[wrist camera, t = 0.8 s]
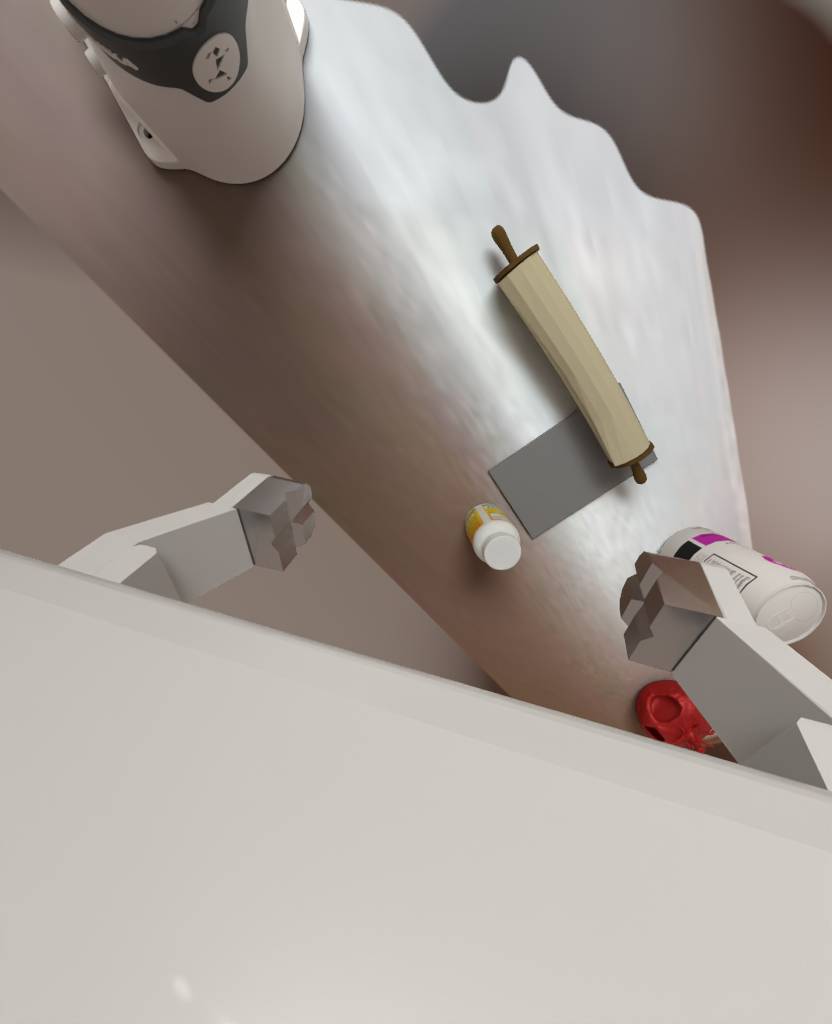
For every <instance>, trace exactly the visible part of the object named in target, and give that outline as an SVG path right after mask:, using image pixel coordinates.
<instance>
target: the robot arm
mask: <svg viewBox="0 0 832 1024" xmlns="http://www.w3.org/2000/svg"><path fill="white" fill-rule="evenodd" d="M50 3H51V5H52V7H53V9H54V11H55V12H56V14H57V15H58V17H59V18H60V20H61V21H62V23H63V24H64V26H65V27H66V28H67V30H68V31H69V32H70V33H71V35H72V36H73V37H74V38H75V39H76V40H77V41H78V42H80V41H81V42H83V41H85V43H86V45H87V47H88V49H87V50H86V51H85V55H86V57H87V59H88V60H89V62H90V63H91V65H92V66H93V68H94V69H95V70H96V71H97V73H98V74H99V75H100V76H103V77H104V78H105V80H106V82H107V84H108V86H109V88H110V89H111V91H112V93H113V95H114V97H115V99H116V101H117V102H118V104H119V106H120V108H121V110H122V112H123V113H124V115H125V117H126V119H127V121H128V123H129V125H130V126H131V128H132V130H133V132H134V134H135V136H136V137H137V139H138V141H139V143H140V145H141V147H142V149H143V150H144V152H145V154H146V155H147V156H148V158H149V159H150V160H151V161H152V162H153V163H154V164H155V165H156V166H158V167H160V168H164V169H189V170H192V171H195V172H197V173H199V174H202V175H204V176H206V177H208V178H210V179H213V180H216V181H219V182H224V183H230V184H244V183H250V182H254V181H257V180H260V179H262V178H264V177H266V176H268V175H269V174H271V173H272V172H274V171H275V170H276V169H277V168H278V167H279V166H280V165H281V164H282V163H283V162H284V161H285V160H286V158H287V157H288V156H289V154H290V152H291V151H292V149H293V147H294V145H295V143H296V141H297V138H298V136H299V133H300V129H301V126H302V121H303V115H304V103H305V94H304V81H303V70H302V59H303V55H304V51H305V47H306V43H307V38H308V31H309V21H308V16H307V14H306V11H305V8H304V6H303V4H302V2H301V0H50ZM286 4H287V5H286ZM149 133H150V134H151V135H152V136H153V137H152V138H151V139H149V138H148V135H149ZM311 498H312V494H311V489H310V486H309V485H308V484H306V483H304V482H299V481H295V480H290V479H286V478H281V477H277V476H271V475H267V474H262V473H251V474H250V475H249V476H247V477H246V478H245V479H244V480H242V481H241V482H240V483H239V484H237V485H236V486H235V487H234V488H232V489H231V490H230V491H228V492H227V493H226V494H225V495H223V496H222V497H221V498H220V499H218V500H217V501H216V502H214V503H209V502H208V503H204V504H201V505H198V506H195V507H191V508H188V509H184V510H181V511H178V512H175V513H171V514H168V515H165V516H161V517H158V518H155V519H152V520H148V521H145V522H142V523H138V524H135V525H131V526H128V527H125V528H122V529H118V530H115V531H112V532H108V533H106V534H104V535H103V536H101V537H99V538H98V539H96V540H95V541H93V542H92V543H90V544H89V545H87V546H86V547H84V548H83V549H82V550H80V551H78V552H77V553H75V554H74V555H73V556H71V557H70V558H68V559H67V560H65V561H64V562H62V563H61V564H59V565H55V564H51V563H47V562H44V561H41V560H37V559H34V558H30V557H27V556H23V555H20V554H17V553H13V552H10V551H6V550H3V549H0V1024H832V680H831V679H830V678H829V677H827V676H826V675H825V674H824V673H822V672H821V671H820V670H818V669H817V668H816V667H815V666H813V665H812V664H811V663H809V662H808V661H807V660H806V659H804V658H803V657H802V656H801V655H799V654H798V653H797V652H795V651H794V650H793V649H792V648H791V647H789V646H788V645H787V644H786V643H784V642H783V641H782V640H780V639H779V638H778V637H777V636H775V635H774V634H773V633H772V632H770V631H769V630H768V629H767V628H764V627H760V626H757V625H756V623H755V621H754V619H753V617H752V616H751V614H750V612H749V610H748V608H747V606H746V604H745V602H744V600H743V598H742V596H741V594H740V592H739V591H738V589H737V587H736V585H735V583H734V581H733V579H732V577H731V575H730V573H729V571H728V570H727V569H726V568H725V567H724V566H722V565H717V564H712V563H706V562H700V561H691V560H685V559H680V558H675V557H670V556H665V555H660V554H655V553H650V552H645V551H644V552H643V553H642V554H641V555H640V556H639V558H638V559H637V561H636V563H635V568H636V572H637V574H635V575H633V576H631V577H629V578H627V580H626V582H625V584H624V587H623V589H622V593H621V597H620V614H621V619H622V620H623V621H624V622H625V623H626V624H627V625H628V628H627V630H626V632H625V633H624V638H625V643H626V649H627V654H628V660H630V661H634V662H637V663H641V664H644V665H648V666H652V667H655V668H659V669H662V670H666V671H669V672H672V673H671V674H672V676H673V677H674V678H675V680H676V681H677V682H678V684H679V685H680V686H681V688H682V689H683V690H684V692H685V693H686V694H687V696H688V697H689V698H690V700H691V701H692V702H693V704H694V705H695V706H696V708H697V709H698V710H699V711H700V713H701V714H702V715H703V717H704V718H705V719H706V721H707V722H708V723H709V725H710V726H711V727H712V729H713V730H714V731H715V733H716V734H717V735H718V737H719V738H720V739H721V741H722V742H723V743H724V745H725V746H726V747H727V748H728V750H729V751H730V753H731V754H732V755H733V757H734V758H735V759H736V760H737V762H738V763H739V764H736V763H733V762H730V761H726V760H722V759H719V758H716V757H712V756H709V755H706V754H702V753H699V752H695V751H692V750H688V749H685V748H682V747H678V746H675V745H671V744H668V743H665V742H661V741H658V740H654V739H651V738H647V737H644V736H641V735H637V734H634V733H630V732H627V731H623V730H620V729H617V728H613V727H610V726H606V725H603V724H600V723H596V722H593V721H589V720H586V719H582V718H579V717H575V716H572V715H569V714H565V713H562V712H558V711H555V710H551V709H548V708H545V707H541V706H538V705H534V704H531V703H527V702H524V701H521V700H517V699H514V698H510V697H506V696H503V695H500V694H496V693H493V692H490V691H486V690H482V689H479V688H476V687H472V686H469V685H466V684H462V683H459V682H455V681H452V680H448V679H444V678H441V677H438V676H435V675H431V674H428V673H424V672H421V671H418V670H414V669H411V668H407V667H404V666H401V665H397V664H394V663H390V662H387V661H383V660H380V659H377V658H373V657H369V656H366V655H363V654H359V653H356V652H353V651H349V650H346V649H342V648H339V647H335V646H332V645H328V644H325V643H322V642H318V641H315V640H312V639H308V638H305V637H301V636H298V635H294V634H291V633H288V632H284V631H281V630H277V629H274V628H270V627H267V626H264V625H260V624H257V623H253V622H250V621H246V620H243V619H240V618H236V617H233V616H229V615H226V614H222V613H219V612H216V611H212V610H209V609H205V608H202V607H199V606H195V605H192V604H188V603H189V602H190V601H192V600H194V599H196V598H198V597H199V596H201V595H203V594H205V593H207V592H208V591H210V590H212V589H214V588H216V587H218V586H219V585H221V584H223V583H225V582H227V581H228V580H230V579H232V578H234V577H236V576H237V575H239V574H241V573H243V572H244V571H246V570H248V569H250V568H252V567H254V565H257V566H261V567H266V568H270V569H274V570H279V571H284V570H285V569H286V567H287V566H288V565H289V564H290V562H291V561H292V560H293V559H294V557H295V556H296V555H297V552H296V547H299V546H301V545H303V544H306V542H307V541H308V540H309V538H310V537H311V535H312V532H313V530H314V527H315V512H314V510H313V509H312V507H311V506H310V505H309V503H308V502H309V501H310V499H311Z"/></svg>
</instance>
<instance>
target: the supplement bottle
mask: <svg viewBox="0 0 832 1024" xmlns="http://www.w3.org/2000/svg"><path fill="white" fill-rule="evenodd" d="M465 530H466V533H467V535H468V537H469V540H470V542H471V544H472V547H473V549H474V551H475V553H476V555H477V556H478V557H479V558H480V559H481V560H482V561H484V562H486V563H487V564H488V565H489V566H490V567H492V568H494V569H497V570H506V569H509V568H511V567H513V566H514V565H515V564H516V563H517V562H518V560H519V559H520V556H521V547H520V536H519V533H518V531H517V529H516V528H515V527H514V525H513V524H512V523H511V521H510V520H509V519H508V518H507V516H506V515H505V514H504V512H503V511H502V510H501V509H500V508H499V507H497V506H495V505H493V504H480V505H478V506H476V507H474V508H473V509H471V511H470V512H469V513H468V515H467V517H466V520H465Z"/></svg>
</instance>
